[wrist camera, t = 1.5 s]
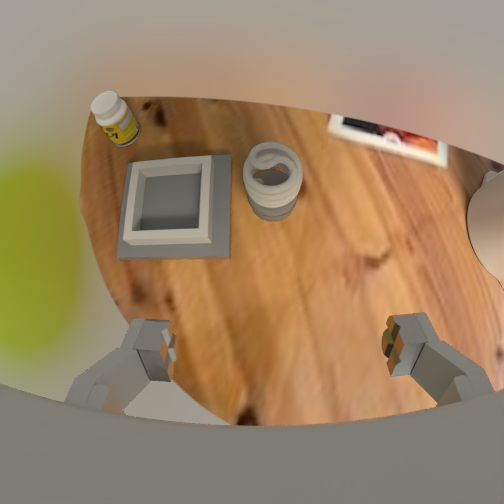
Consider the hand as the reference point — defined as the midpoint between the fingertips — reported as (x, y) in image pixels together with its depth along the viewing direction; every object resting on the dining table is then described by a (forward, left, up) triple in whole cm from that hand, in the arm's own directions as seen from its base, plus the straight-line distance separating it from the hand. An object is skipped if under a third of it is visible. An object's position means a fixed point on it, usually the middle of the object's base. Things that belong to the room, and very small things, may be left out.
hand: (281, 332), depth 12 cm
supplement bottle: (+21, -27, -25) cm, 42 cm away
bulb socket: (+12, -15, -25) cm, 31 cm away
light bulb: (0, -14, -25) cm, 29 cm away
